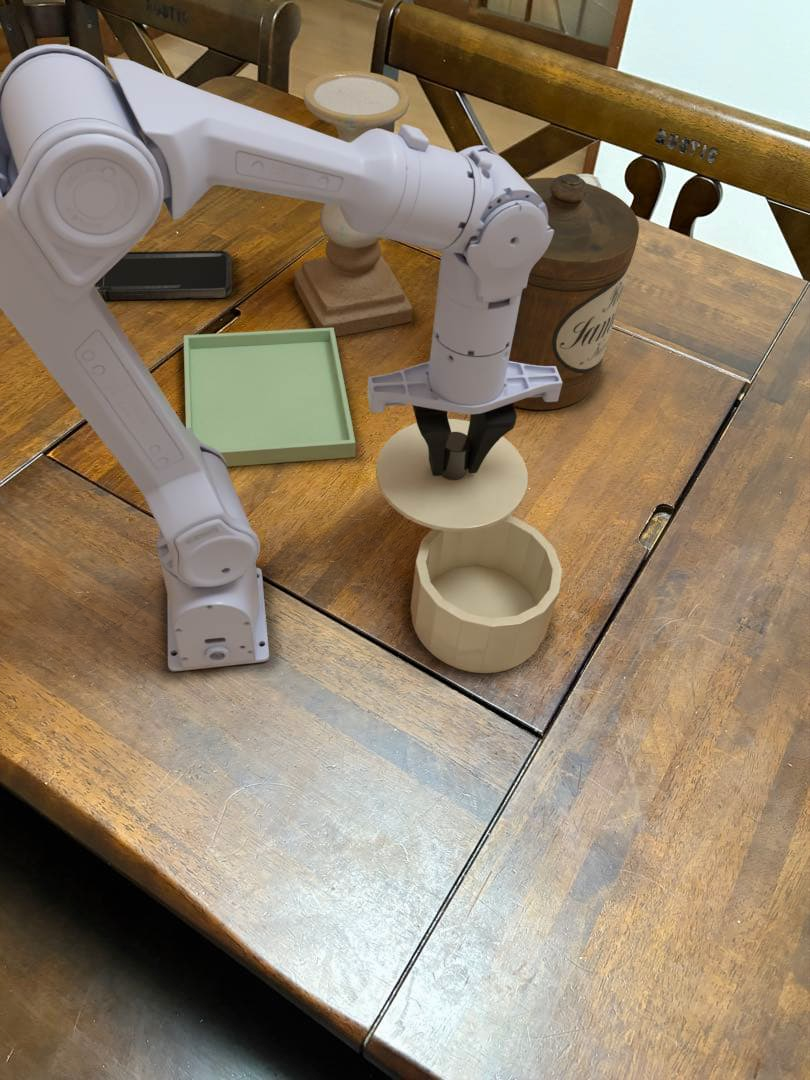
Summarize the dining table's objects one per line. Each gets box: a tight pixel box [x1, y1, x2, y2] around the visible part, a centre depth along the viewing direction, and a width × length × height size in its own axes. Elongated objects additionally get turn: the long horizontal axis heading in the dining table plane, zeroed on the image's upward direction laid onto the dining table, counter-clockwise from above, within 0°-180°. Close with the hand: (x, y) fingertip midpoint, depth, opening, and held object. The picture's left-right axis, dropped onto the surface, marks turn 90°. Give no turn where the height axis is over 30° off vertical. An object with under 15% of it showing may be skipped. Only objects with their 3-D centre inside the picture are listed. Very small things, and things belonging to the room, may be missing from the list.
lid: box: [375, 418, 529, 532], centre depth 75 cm, size 13×13×4 cm
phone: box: [94, 250, 233, 301], centre depth 106 cm, size 8×1×15 cm
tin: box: [409, 515, 563, 674], centre depth 76 cm, size 12×12×7 cm
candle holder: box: [293, 70, 413, 338], centre depth 97 cm, size 11×11×24 cm
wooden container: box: [509, 173, 640, 411], centre depth 92 cm, size 15×15×22 cm
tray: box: [183, 327, 357, 468], centre depth 93 cm, size 18×16×2 cm
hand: (453, 465), depth 75 cm, fingers closed on lid, 2 cm apart
